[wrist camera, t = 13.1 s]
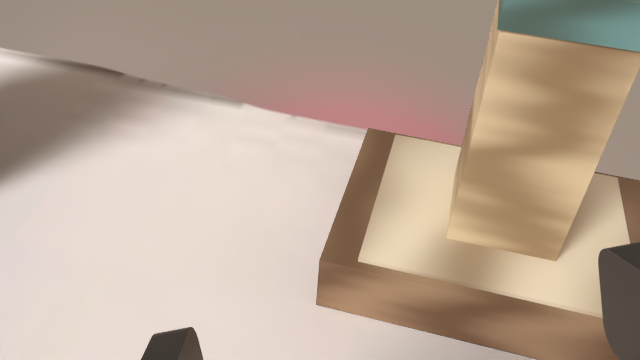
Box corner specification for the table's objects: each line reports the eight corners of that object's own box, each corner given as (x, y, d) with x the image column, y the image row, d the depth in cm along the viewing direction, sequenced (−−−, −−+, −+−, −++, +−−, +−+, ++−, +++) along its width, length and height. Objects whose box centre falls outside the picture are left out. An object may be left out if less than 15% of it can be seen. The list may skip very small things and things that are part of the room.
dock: (316, 304, 26) (320, 256, 24) (363, 169, 34) (368, 124, 32) (657, 388, 24) (690, 342, 22) (625, 223, 32) (648, 178, 30)
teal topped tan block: (443, 239, 26) (509, -16, 19) (452, 173, 29) (510, -62, 22) (558, 263, 25) (670, 7, 18) (553, 193, 28) (645, -44, 21)
